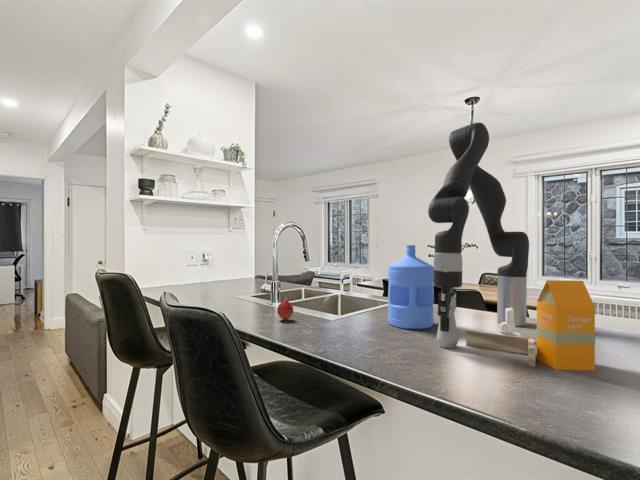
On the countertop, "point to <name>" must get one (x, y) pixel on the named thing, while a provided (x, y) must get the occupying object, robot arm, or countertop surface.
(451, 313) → the salt shaker
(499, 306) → the robot arm
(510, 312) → the hook
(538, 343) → the orange juice
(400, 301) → the water jug
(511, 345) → the beige l-shaped block
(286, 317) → the onion
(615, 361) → the countertop surface
